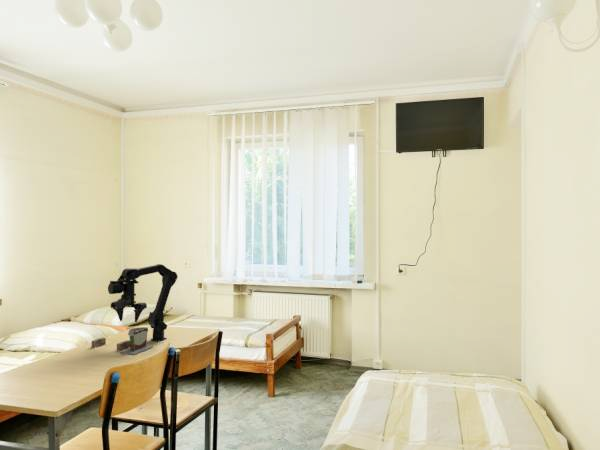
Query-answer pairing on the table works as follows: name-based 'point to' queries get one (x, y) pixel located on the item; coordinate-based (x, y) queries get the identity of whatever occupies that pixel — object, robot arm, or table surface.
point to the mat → (135, 351)
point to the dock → (103, 341)
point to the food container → (138, 338)
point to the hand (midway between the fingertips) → (128, 321)
